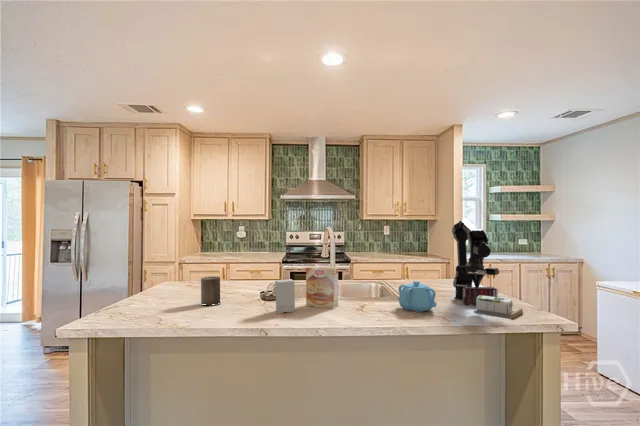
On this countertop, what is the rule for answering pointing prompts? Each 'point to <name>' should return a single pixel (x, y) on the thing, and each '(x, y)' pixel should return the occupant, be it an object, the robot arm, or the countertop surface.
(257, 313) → the countertop surface
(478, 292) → the supplement box
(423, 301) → the decorative pot
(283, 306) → the skincare box
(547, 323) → the countertop surface
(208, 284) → the pillar candle
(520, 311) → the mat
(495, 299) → the syrup box
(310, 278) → the coffeecake box
